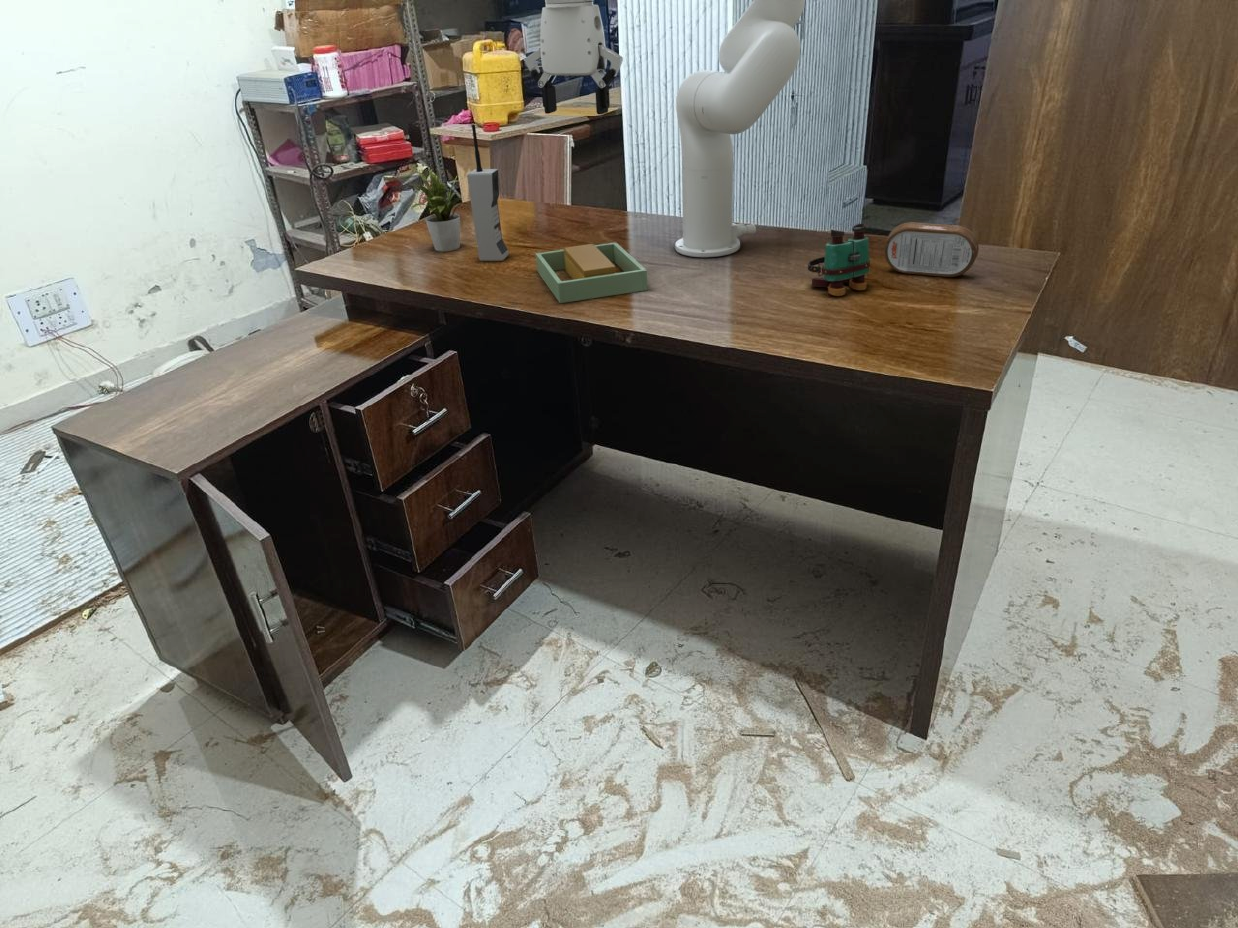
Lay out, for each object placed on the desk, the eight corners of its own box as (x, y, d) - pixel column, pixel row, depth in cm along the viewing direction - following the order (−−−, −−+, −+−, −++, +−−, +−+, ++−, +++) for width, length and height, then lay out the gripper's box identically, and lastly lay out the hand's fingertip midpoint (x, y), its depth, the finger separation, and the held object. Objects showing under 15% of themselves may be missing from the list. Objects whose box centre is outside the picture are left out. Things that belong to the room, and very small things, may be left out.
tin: (974, 275, 142) (982, 225, 138) (972, 281, 140) (981, 230, 135) (883, 267, 148) (888, 220, 144) (880, 273, 145) (885, 224, 141)
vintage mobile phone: (503, 261, 163) (485, 125, 151) (479, 261, 164) (459, 126, 152) (509, 255, 167) (492, 122, 154) (485, 255, 168) (466, 122, 155)
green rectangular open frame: (617, 260, 160) (616, 242, 158) (647, 290, 145) (646, 270, 143) (537, 272, 157) (535, 253, 155) (560, 303, 141) (558, 283, 139)
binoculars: (838, 217, 142) (880, 223, 134) (837, 279, 146) (878, 288, 138) (796, 226, 139) (836, 233, 130) (796, 289, 143) (835, 299, 135)
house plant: (393, 251, 174) (377, 169, 166) (445, 234, 183) (433, 156, 174) (437, 261, 166) (422, 176, 157) (489, 244, 175) (478, 162, 166)
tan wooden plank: (594, 266, 158) (592, 243, 155) (617, 291, 145) (615, 266, 143) (565, 271, 156) (563, 247, 154) (585, 295, 144) (583, 270, 142)
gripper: (628, -7, 131) (632, 110, 140) (532, -3, 138) (541, 109, 146) (608, -5, 125) (614, 117, 134) (509, -1, 132) (520, 115, 141)
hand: (576, 113), depth 140 cm, fingers open, 9 cm apart
